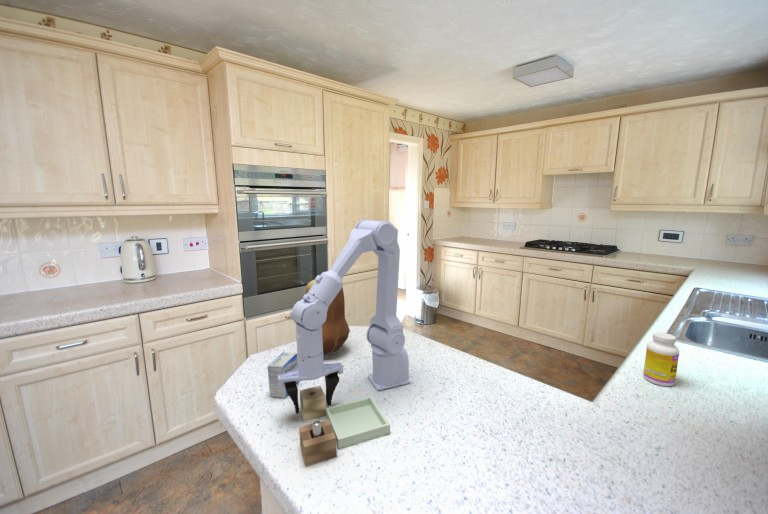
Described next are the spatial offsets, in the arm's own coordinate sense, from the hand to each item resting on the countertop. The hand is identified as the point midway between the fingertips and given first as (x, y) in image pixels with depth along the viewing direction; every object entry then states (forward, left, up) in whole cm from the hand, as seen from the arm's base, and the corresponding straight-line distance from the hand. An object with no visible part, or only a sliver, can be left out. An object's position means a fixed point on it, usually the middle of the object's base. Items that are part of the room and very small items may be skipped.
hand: (313, 407), depth 77 cm
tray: (-8, +8, -1) cm, 11 cm away
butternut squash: (-11, -30, -2) cm, 32 cm away
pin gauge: (+1, +12, -1) cm, 13 cm away
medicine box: (+5, -13, -2) cm, 14 cm away
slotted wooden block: (+1, +12, -1) cm, 13 cm away
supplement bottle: (-88, +24, -2) cm, 91 cm away
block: (0, 0, -2) cm, 2 cm away
